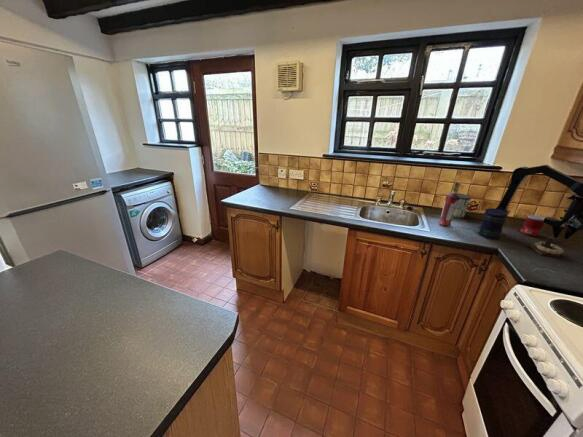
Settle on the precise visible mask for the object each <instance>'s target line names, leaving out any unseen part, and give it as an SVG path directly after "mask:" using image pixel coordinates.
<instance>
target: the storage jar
mask: <svg viewBox="0 0 583 437" xmlns="http://www.w3.org/2000/svg"><path fill="white" fill-rule="evenodd" d="M506 216H507V212H506V211H504V210H500V209H496V208H495V207H494V208H491V207H490V208H485V210H484V213H483V216H482V223H481V224H480V226H479V227H480V228H479V232H478V235H479V236H481V237H483V238H485V239H489V240H498V239H500V237H501V235H502V231H503V226H504V224H505V222H506V220H507V217H506Z"/></svg>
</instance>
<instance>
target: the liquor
mask: <svg viewBox="0 0 583 437" xmlns="http://www.w3.org/2000/svg"><path fill="white" fill-rule="evenodd" d="M460 186H461V181H454V185H453V189H452V191H451V192H450V193H448V194H446V195H445V199H444V203H443V207H442V211H441V215H440V218H439V220H438V223H439V225H440V226H442V227H449V226H451V225H452V220H453V218H454V216H453V215H454V213H455V210H456V208H457V205H458V203H459V200H460V197H459V196H458V195H457V193H458V192H459V188H460Z"/></svg>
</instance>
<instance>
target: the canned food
mask: <svg viewBox="0 0 583 437" xmlns="http://www.w3.org/2000/svg"><path fill="white" fill-rule="evenodd" d="M544 218H545V217H544V216H541V215H536V214H527V215H526V217H525V220H524V221H523V223H522V226H521V229H520V233H521V234H523V235H526V236H528V237H537V236H538V235H539V234H540V232H541V230H542V229H543V226H544V225H545V222H543V220H544Z"/></svg>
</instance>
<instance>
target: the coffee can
mask: <svg viewBox="0 0 583 437" xmlns="http://www.w3.org/2000/svg"><path fill="white" fill-rule="evenodd" d="M457 195H458V196H459V197H460V200H459V203H458V205H457V208H456V210H455V213H454V215H453V218H465V215H466V212H467V209H468V207H469V205H470V202H471V199H472V197H471V196H470V195H469V194H464V193H458V192H457Z"/></svg>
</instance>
